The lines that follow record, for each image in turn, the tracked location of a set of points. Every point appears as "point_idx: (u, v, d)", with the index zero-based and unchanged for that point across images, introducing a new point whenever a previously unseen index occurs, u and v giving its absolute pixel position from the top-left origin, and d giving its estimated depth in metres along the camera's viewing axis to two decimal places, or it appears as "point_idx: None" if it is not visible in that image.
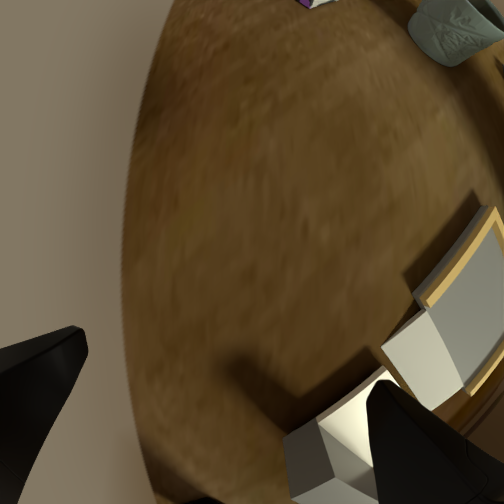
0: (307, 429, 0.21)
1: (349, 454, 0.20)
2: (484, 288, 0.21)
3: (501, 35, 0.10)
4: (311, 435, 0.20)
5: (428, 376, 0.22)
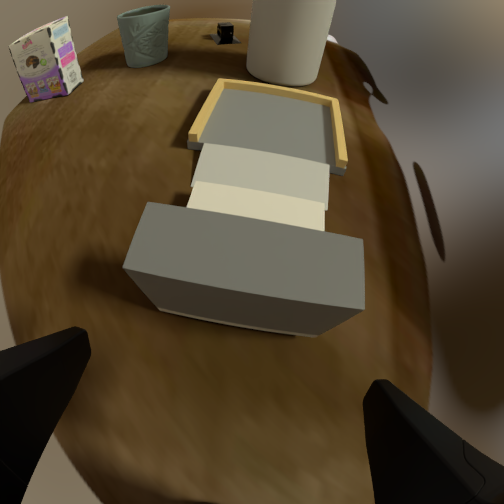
0: None
1: None
2: (256, 110, 0.32)
3: (160, 13, 0.30)
4: None
5: (270, 178, 0.27)
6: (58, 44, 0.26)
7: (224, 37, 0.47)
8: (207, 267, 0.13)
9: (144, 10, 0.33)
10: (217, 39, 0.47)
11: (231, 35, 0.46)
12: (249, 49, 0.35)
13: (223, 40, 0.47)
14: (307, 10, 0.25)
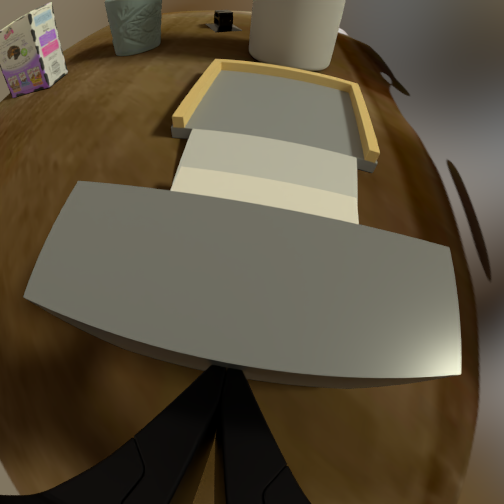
0: None
1: None
2: (260, 92, 0.25)
3: None
4: None
5: (280, 173, 0.20)
6: (40, 31, 0.19)
7: (223, 25, 0.40)
8: (164, 306, 0.06)
9: None
10: (215, 27, 0.41)
11: (230, 23, 0.40)
12: (252, 29, 0.28)
13: (222, 28, 0.40)
14: None
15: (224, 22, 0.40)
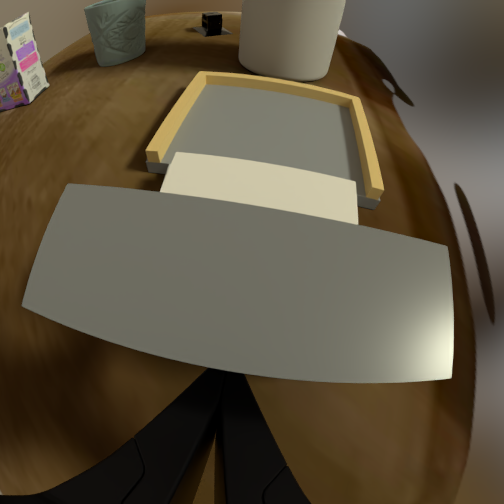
0: None
1: None
2: (249, 112, 0.22)
3: None
4: None
5: None
6: (17, 44, 0.17)
7: (211, 29, 0.38)
8: (156, 314, 0.06)
9: None
10: (203, 31, 0.38)
11: (219, 26, 0.38)
12: (241, 35, 0.26)
13: (211, 32, 0.38)
14: None
15: (213, 25, 0.37)
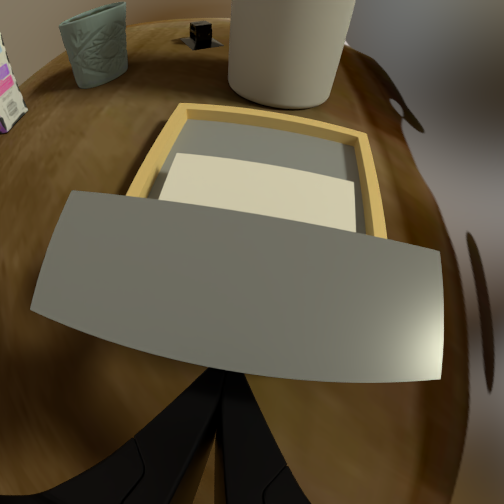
0: None
1: None
2: None
3: (109, 12, 0.19)
4: None
5: None
6: None
7: (200, 40, 0.35)
8: (160, 317, 0.06)
9: (98, 11, 0.23)
10: (192, 44, 0.36)
11: (209, 37, 0.35)
12: (230, 53, 0.23)
13: (200, 44, 0.35)
14: None
15: (202, 36, 0.35)
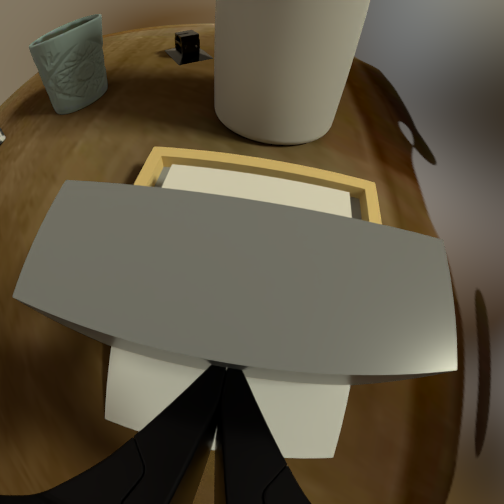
0: None
1: None
2: None
3: (80, 30, 0.17)
4: None
5: None
6: None
7: (187, 53, 0.33)
8: (148, 303, 0.05)
9: (73, 26, 0.20)
10: (178, 57, 0.33)
11: (197, 48, 0.33)
12: (215, 77, 0.21)
13: (186, 57, 0.33)
14: None
15: (189, 49, 0.32)
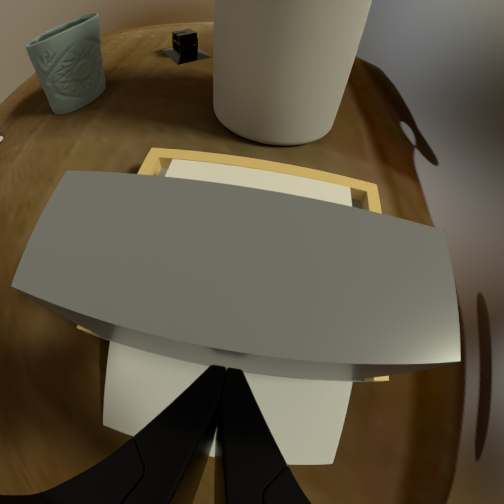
0: None
1: None
2: None
3: (77, 29, 0.16)
4: None
5: None
6: None
7: (185, 52, 0.32)
8: (147, 290, 0.05)
9: (71, 25, 0.19)
10: (176, 56, 0.32)
11: (195, 47, 0.32)
12: (214, 77, 0.20)
13: (184, 56, 0.32)
14: None
15: (187, 48, 0.32)
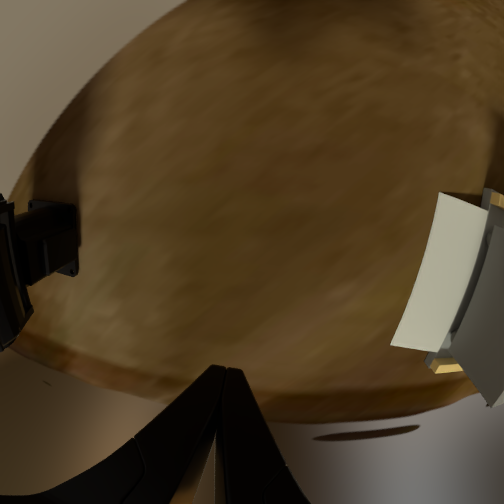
0: None
1: None
2: None
3: None
4: None
5: (437, 288, 0.19)
6: None
7: None
8: None
9: None
10: None
11: None
12: None
13: None
14: None
15: None
